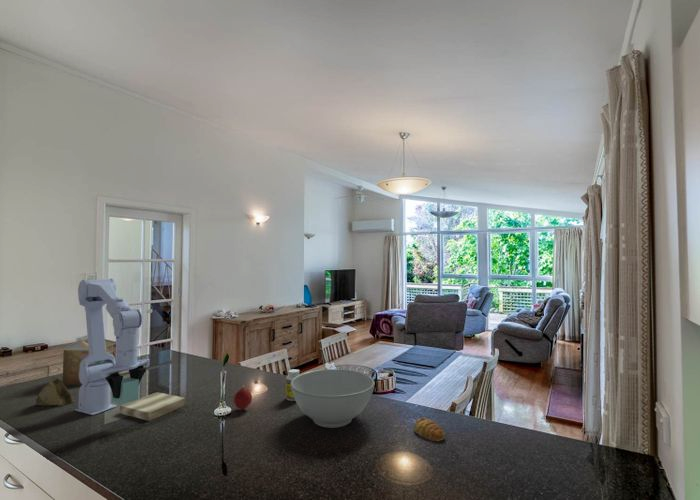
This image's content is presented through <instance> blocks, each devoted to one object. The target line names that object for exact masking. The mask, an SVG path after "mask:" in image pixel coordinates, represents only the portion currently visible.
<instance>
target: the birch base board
mask: <svg viewBox="0 0 700 500" xmlns="http://www.w3.org/2000/svg"><path fill="white" fill-rule="evenodd" d="M186 398H187V397H183V396H178V395H173V394H167V393H163V392H158V391H157V392H153V393H151V394H149V395H146V396H142V397H140V398H138V399H137V400H134V401H132V402H129V403H126V404H123V405H122V404H120V406H119V414H120V415H125V416H129V417H132V418H136V419H141V420H144V421H148V422H150V421H152V420H155V419H158V418H159V417H162V416H163V415H165V414H168V413H170V412H173V411H176V410H177V409H180V408H182V407H185V406H186V401H187V400H186Z"/></svg>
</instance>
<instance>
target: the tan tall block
mask: <svg viewBox="0 0 700 500" xmlns="http://www.w3.org/2000/svg"><path fill="white" fill-rule="evenodd" d="M107 344H108V343H106V342H105V345H106V349H107V347H108V346H107ZM62 351H63V353H62V354H63V355H62V358H63V359H62V360H63V361H62V381H61V382H62V383H63V384H77V385H76V386H82V385H83V384H81V382H80V380H79V370H80V363H81V361H82V360H84V359H85V358H86V357H87V356H88V355H89V347H88V335H87V334H85V335H82V336H78V337H76V339H75V341H74V342H73V343H71V344H69V345H67V346H66V347H65V348H64V349H63V350H62ZM102 362H106V361H100V362H95V363H90V364H89V365H91V364H96V363H102Z"/></svg>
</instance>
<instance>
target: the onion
mask: <svg viewBox="0 0 700 500" xmlns="http://www.w3.org/2000/svg"><path fill="white" fill-rule="evenodd" d="M252 399H253V395H252V393H251V391H250V390H249V389H247V388H246V385H243V386H241V388H240V389H238V391H236V392H235V394H234V397H233V402H234V405H235V406H236V407H237V408H238V409H239V410H242V411H244V410H245V409H247V408H248V407H249V406H250V405H251V403H252Z"/></svg>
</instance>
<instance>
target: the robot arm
mask: <svg viewBox="0 0 700 500" xmlns="http://www.w3.org/2000/svg"><path fill="white" fill-rule="evenodd" d="M116 291H117V282H116V281H115V280H114V278H109V279H108V278H107V279H104V278H103V279H85V278H83V279H81V281H80V282H79V283H78V287H77V293H78V294H77V296H78V302H79V305H80V306H82V307H84V311H85V319H86V320H85V322H86V335H88V347H89V355H88V356H87V357H86V358H85V359H84V360H82V361H81V363H80V370H79V380H80V382H81V384H83V385H80V387H79V390H78V403H77V404H78V408H75V411H76V412H79V413H84V414H87V415H90V416H95V415H97V414H100V413H102V412H105V411H108V410H111V409H114V408H117V405H116V404H112V403H111V396H112V394H113V398H117V399H118V398H120V392H121V383H122V379H124V375H121V374H120V373H123V372H127V371H128V374H129V378H134V379H139V385H140V383H141V380H142V379H143V377H144V375H145V373H146V372H147V368H146V367H148V366H150V364H151V363H150V362H151V360H150V358H142V359H138V335H139V333H138V330H139V328H141V325H142V323H143V317H142V313H141V311H140V309H138V308H136V309H135V308H132V307H131V306H130V304H129V303H128V302H127V301H126V299H124V298H123V297H119V296H118V294H117V292H116ZM104 305H106V307H105V310H106V311H107V313H108V314H109V315H110V317H111V318H112V326H113V334H114V337H115V356H114V355H113V354H111V353H109V352H108V351H107V348H106V345H105V343H106V336H105V325H104V315H103V312H104V311H103V307H104ZM100 361H106V362H102V363H96V364H91V365H89V364H90V363H95V362H100ZM145 366H146V367H145Z"/></svg>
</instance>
